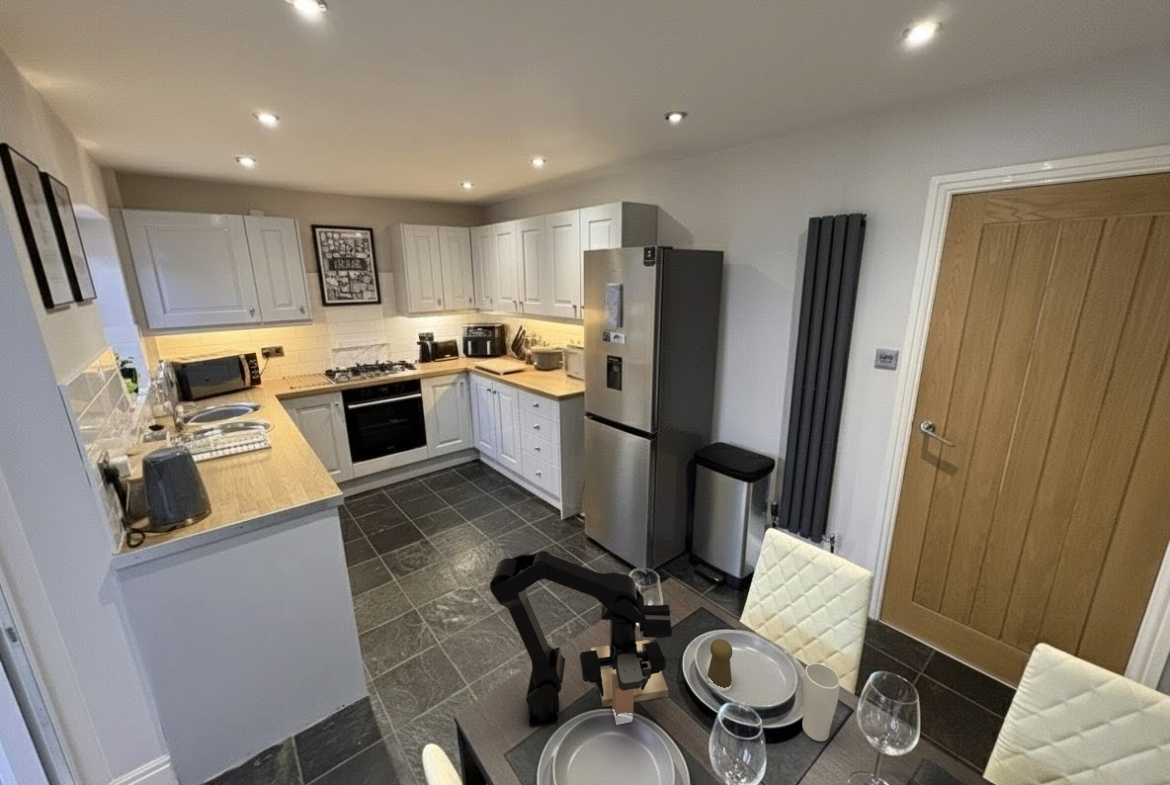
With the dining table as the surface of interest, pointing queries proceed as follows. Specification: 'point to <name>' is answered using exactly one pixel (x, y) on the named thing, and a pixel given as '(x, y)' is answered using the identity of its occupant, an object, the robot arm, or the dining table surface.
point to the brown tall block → (621, 698)
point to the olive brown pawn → (720, 663)
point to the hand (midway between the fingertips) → (622, 691)
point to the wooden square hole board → (651, 691)
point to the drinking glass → (819, 700)
